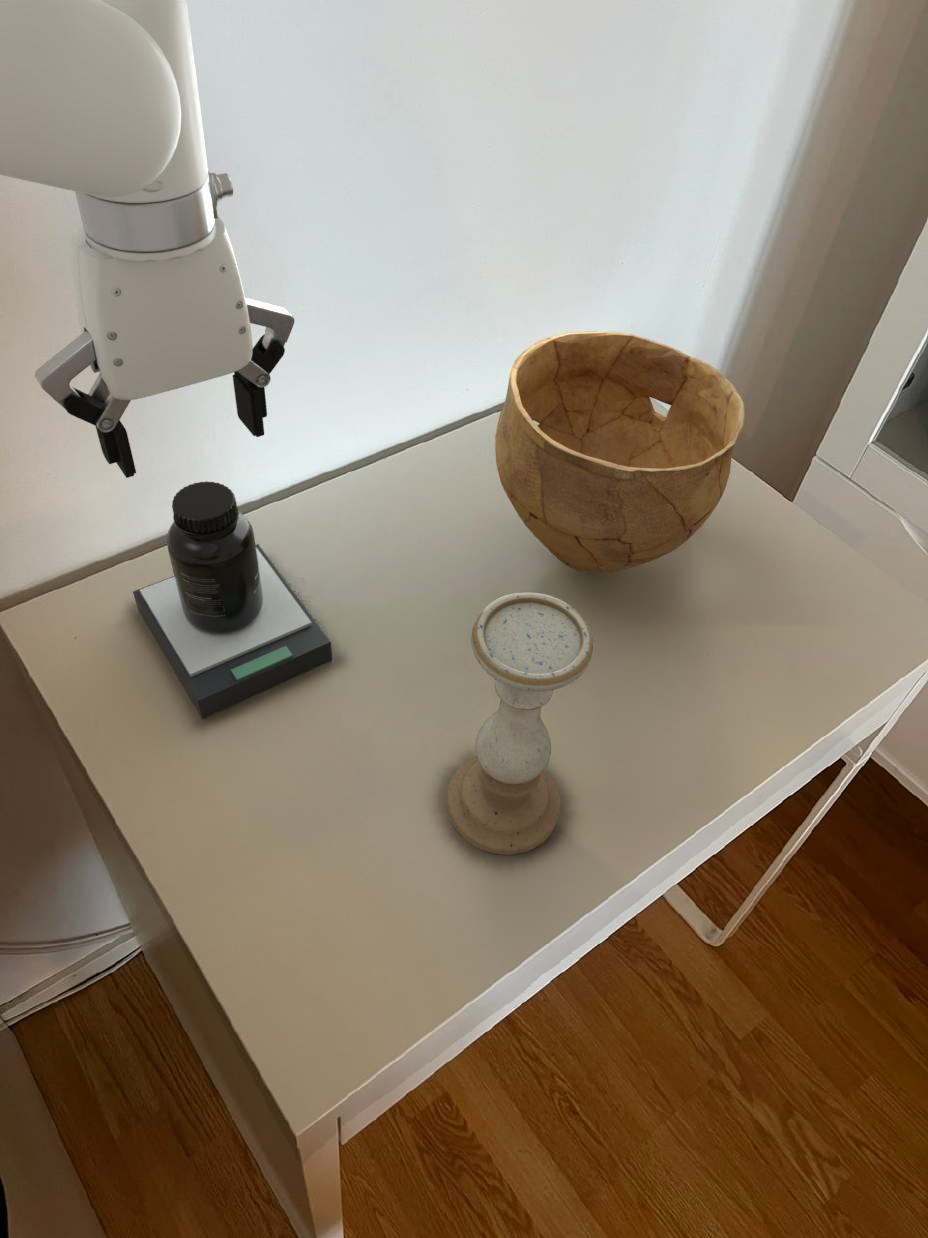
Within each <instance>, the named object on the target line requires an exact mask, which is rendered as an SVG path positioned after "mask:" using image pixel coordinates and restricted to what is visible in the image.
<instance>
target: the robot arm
mask: <svg viewBox="0 0 928 1238" xmlns="http://www.w3.org/2000/svg"><path fill="white" fill-rule="evenodd" d="M191 29H192V28H191V23H190V15H189V7H188V3H187V0H0V176H5V177H9V178H12V179H13V178H14V179H17V180H22V181H26V182H30V183H36V184H40V185H44V186H48V187H54V188H58V189H63V190H66V191H72V192H74V194H75V197H76V201H77V202H76V203H77V206H78V211H79V215H80V219H81V224H82V226H80V227H77V228H75V229H74V230H73V231H72V232H71V234H70V261H71V274H72V283H73V291H74V298H75V306H76V311H77V317H78V323H79V329H80V335H78V336H77V337H76V338H74V340H71V342H69V343H68V344H67V345H66V346H65V347H64V348H62V349H61V350H60V351H58V353H56V354H55V355H54V356H52V357H51V358H50V359H48V361H46V362H45V363H43V364H42V365H41V366H40V367H39V368H37V369H36V371H35V373H34V377H35V379H36V381H37V382H38V384H39V386H40V387H41V389H42V390H43V391H44V392H45V393H46V394H48V396H49V397H51V399H53V400H54V401H55V402H56V403H57V404H58V405H60V406H61V407H62V408H63V409H64V410H65V411H66V412H67V414H69V415H71V416H73V417H75V418H77V419H79V420H82V421H84V422H86V423H87V424H91V425H93V426H95V429H96V433H97V437H98V441H99V445H100V450H101V452H102V455H103V457H104V459H105V460H106V462H107V463H108V464H109V465H113V464H116V465H117V466H118V468H119V469H120V471H121V472H122V474H123V475H124V477H125V478H126V479H129V478H132V477H134V476H135V474H137V470H136V465H135V461H134V457H133V452H132V447H131V443H130V439H129V435H128V432H127V429H126V427H125V426H124V425H123V423H122V421H121V418H122V416H123V415H124V413H125V411H126V409H127V408H128V406H129V405H130V403H131V401H133V400H140V399H143V398H149V397H152V396H155V395H159V394H163V393H166V392H171V391H174V390H178V389H181V388H185V387H189V386H191V385H195V384H199V383H202V382H206V381H211V380H214V379H217V378H220V377H223V376H227V375H230V374H232V382H233V390H234V397H235V398H234V399H235V406H236V414H237V417H238V419H239V420H240V421H241V423H242V424H243V425H244V427H245V428H246V429H248V431H249V433H250V434H251V435H252V436H253V437H256V438H259V437H262V436H265V427H264V426H265V425H264V418H266V417H267V416H268V410H267V398H266V389H265V388H266V387H267V386H268V385H269V384H270V382H271V375H270V374H271V373H272V372H273V370H275V367H276V366H277V365H278V363H280V361H281V359H282V358H283V357H284V355H285V351H286V348H285V345H286V344H287V343H288V340H289V338H290V335H291V332H292V330H293V328H294V325H295V320H296V319H295V317H294V316H293V315H292V314H291V313H290V312H289V311H288V309H286V308H285V307H283V306H279V305H274V304H271V303H267V302H263V301H260V300H255V299H252V298H247V297H246V295H245V290H244V289H245V288H244V285H243V281H242V278H241V274H240V270H239V267H238V263H237V259H236V255H235V252H234V248H233V245H232V243H231V239H230V236H229V234H228V231H227V228H226V225H225V223H224V221H223V220H222V219H221V218H220V216H219V215H218V210H217V208H218V203H219V202H222V201H223V200H224V199H226V198H232V197H233V195H234V188H233V187H234V186H233V181H232V180H231V177H230V175H229V174H228V173H227V172H224V173H218V174H217V173H215V172H209V167H208V160H207V159H208V158H207V151H206V143H205V133H204V125H203V118H202V110H201V103H200V93H199V85H198V78H197V71H196V70H197V69H196V63H195V53H194V47H193V39H192V38H193V37H192V30H191ZM251 324H254V325H255V326H256V325H257V326H261V327H265V329H264V332H265V333H263V335H262V336H260V338H259V339H258V341H257V342H256V343H255V345H254V346H253V334H252V327H251ZM88 367H90V369H91V370H92V372H93V373H95V374H96V373H99V374H98V375H97V377H96V379H95V381H94V383H93V384H92V386H91V388H90V389H89V390H88V391H89V392H88V393H86V392H84V391H81V390H80V389H77V388H76V387H73V386H72V385H71V381H72V380H73V379H74V378H76V377H77V376H78V375H80V373H82V372H83V371H84V370H86V369H87V368H88Z"/></svg>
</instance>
